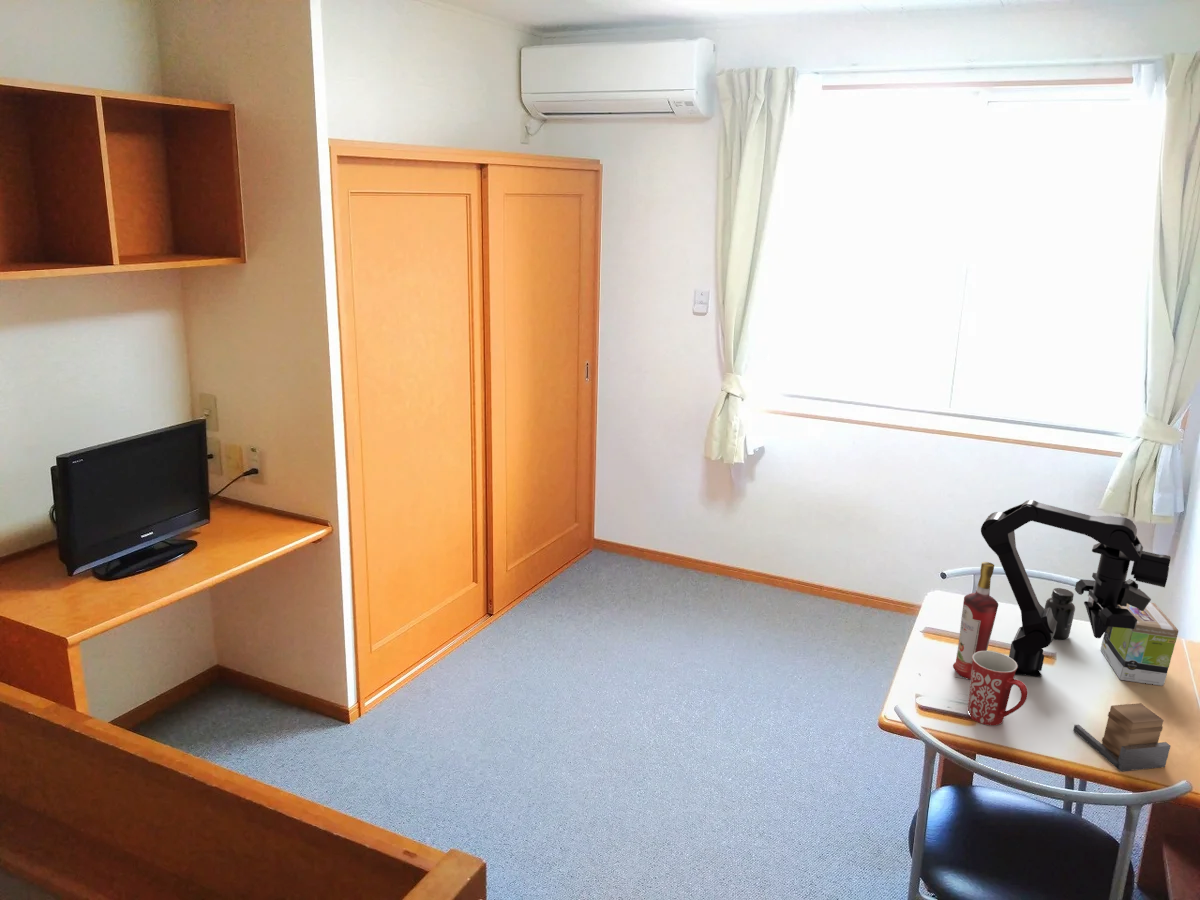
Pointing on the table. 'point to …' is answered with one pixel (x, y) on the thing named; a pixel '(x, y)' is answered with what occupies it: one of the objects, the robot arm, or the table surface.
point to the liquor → (976, 622)
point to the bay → (1130, 753)
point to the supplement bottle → (1061, 611)
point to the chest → (1131, 727)
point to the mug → (992, 687)
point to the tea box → (1141, 646)
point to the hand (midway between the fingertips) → (1097, 637)
